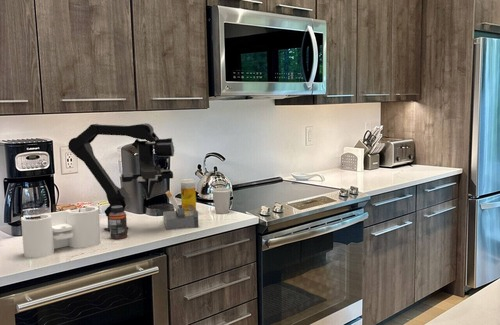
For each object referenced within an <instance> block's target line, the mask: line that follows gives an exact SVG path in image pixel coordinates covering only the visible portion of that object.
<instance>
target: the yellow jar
mask: <svg viewBox="0 0 500 325" xmlns="http://www.w3.org/2000/svg"><path fill="white" fill-rule="evenodd" d="M180 195H181V196H180V197H181V198H180V202H181V205H182V208H184V210H189V205H193V206H194V207H195V209H196V210H197V197H196V195H197V194H196V181H195V179H193V178H183V179H181V182H180Z"/></svg>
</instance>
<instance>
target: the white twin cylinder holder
mask: <svg viewBox="0 0 500 325" xmlns="http://www.w3.org/2000/svg"><path fill="white" fill-rule="evenodd" d="M99 211H100V210H99V207H97V206H91V205H87V206H85V211H81V212H79V211H78V212H75V211H72V210H71V208H70V209H65V210H61V211H55V212H49V213H47V212H46V213H40V214H39V215H40V216H39V217H40V218H39V219H27V218H26V216H21V217H20V219H21V233H22V246H23V256H24V257H25V258H28V259H38V258H39V259H40V258H43V257H48V256H51V255H53V254H54V253H55V249H59V248H65V247H70V248H73V249H84V248H85V249H87V248H92V247H95V246H99V245H101V241H102V240H101V226H100V213H99Z"/></svg>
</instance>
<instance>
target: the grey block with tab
mask: <svg viewBox="0 0 500 325" xmlns="http://www.w3.org/2000/svg"><path fill="white" fill-rule="evenodd" d="M178 206H179V209H178V213H177V211H176V210H169V211H162V213H163V223H164V226H165V229H166V230H167V231H170V230H180V229H181V230H182V229H191V228H193V229H194V228H195V229H196V228H199V211H198V210H197V208H196V209H195V207H194V206H193V205H189V210H184V208H182V204H178Z"/></svg>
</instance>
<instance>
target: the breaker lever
mask: <svg viewBox="0 0 500 325" xmlns="http://www.w3.org/2000/svg"><path fill="white" fill-rule="evenodd" d="M165 194H166V196H167V198H168V200H169V201H170V202H171V205H172V206H173V208H174V209H175V211H177V213H178V209H179V206H178V205H179V204H178V203H177V201H176V200H175V198H174V196H173V194H172V192H170V190H167V191H166V192H165Z"/></svg>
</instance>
